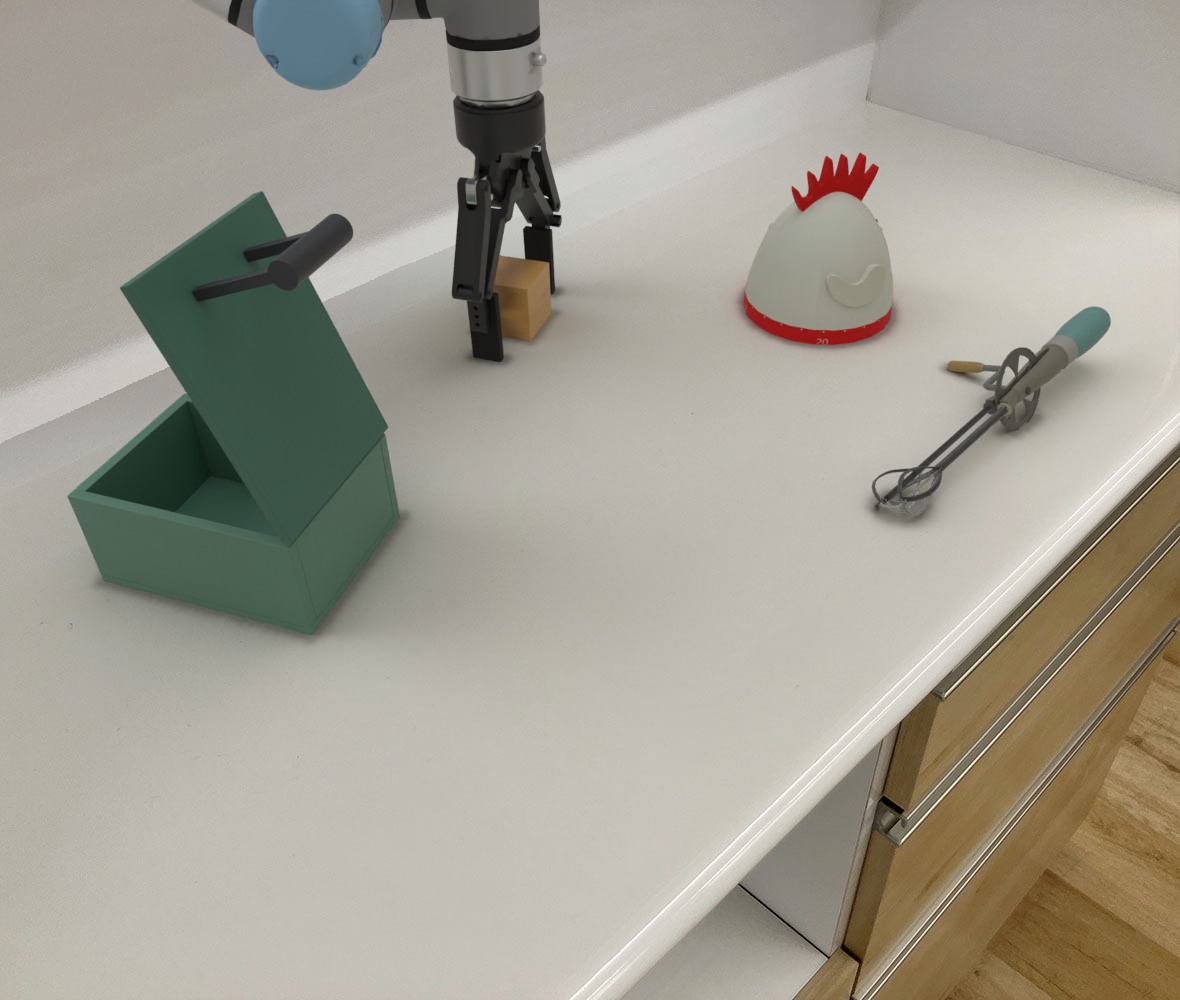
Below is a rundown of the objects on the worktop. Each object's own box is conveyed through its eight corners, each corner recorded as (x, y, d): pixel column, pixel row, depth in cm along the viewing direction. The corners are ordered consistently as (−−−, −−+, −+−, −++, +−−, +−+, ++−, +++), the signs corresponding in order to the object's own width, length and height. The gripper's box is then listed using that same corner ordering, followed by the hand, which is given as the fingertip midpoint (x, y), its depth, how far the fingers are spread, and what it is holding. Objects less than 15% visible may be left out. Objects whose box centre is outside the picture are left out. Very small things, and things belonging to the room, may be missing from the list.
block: (476, 333, 98) (471, 280, 95) (499, 306, 102) (494, 254, 99) (530, 342, 97) (527, 289, 93) (551, 314, 101) (549, 262, 97)
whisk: (807, 525, 83) (787, 453, 80) (1016, 346, 98) (1005, 280, 95) (923, 550, 75) (904, 471, 72) (1131, 351, 90) (1123, 279, 87)
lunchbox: (104, 582, 73) (66, 495, 68) (210, 476, 82) (184, 393, 77) (312, 637, 69) (288, 548, 64) (400, 518, 78) (385, 433, 73)
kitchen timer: (918, 330, 97) (951, 174, 88) (785, 358, 94) (804, 198, 84) (842, 265, 108) (864, 119, 98) (720, 288, 104) (730, 139, 95)
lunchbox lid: (118, 287, 55) (234, 256, 51) (253, 193, 64) (360, 160, 60) (282, 543, 64) (391, 534, 60) (380, 428, 73) (480, 413, 69)
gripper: (479, 151, 76) (502, 397, 89) (590, 51, 94) (595, 269, 107) (387, 141, 78) (423, 383, 91) (512, 45, 96) (527, 260, 109)
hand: (516, 322), depth 99 cm, fingers open, 12 cm apart
